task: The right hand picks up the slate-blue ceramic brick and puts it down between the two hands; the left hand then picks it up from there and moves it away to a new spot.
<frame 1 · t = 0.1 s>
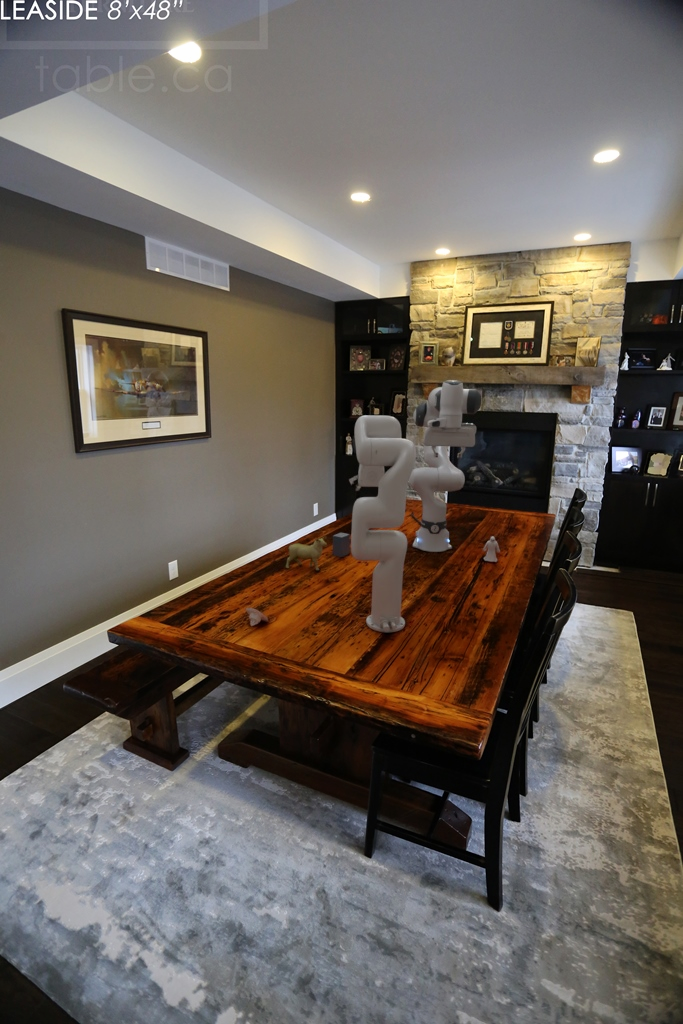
left hand: (370, 500, 199), 31 cm above the table, tool pointing down, fingers open, 9 cm apart
right hand: (447, 457, 200), 48 cm above the table, tool pointing down, fingers open, 8 cm apart
seashell: (256, 623, 161), on the table
brick: (340, 554, 229), on the table
figurine: (490, 560, 225), on the table
toy: (307, 569, 210), on the table
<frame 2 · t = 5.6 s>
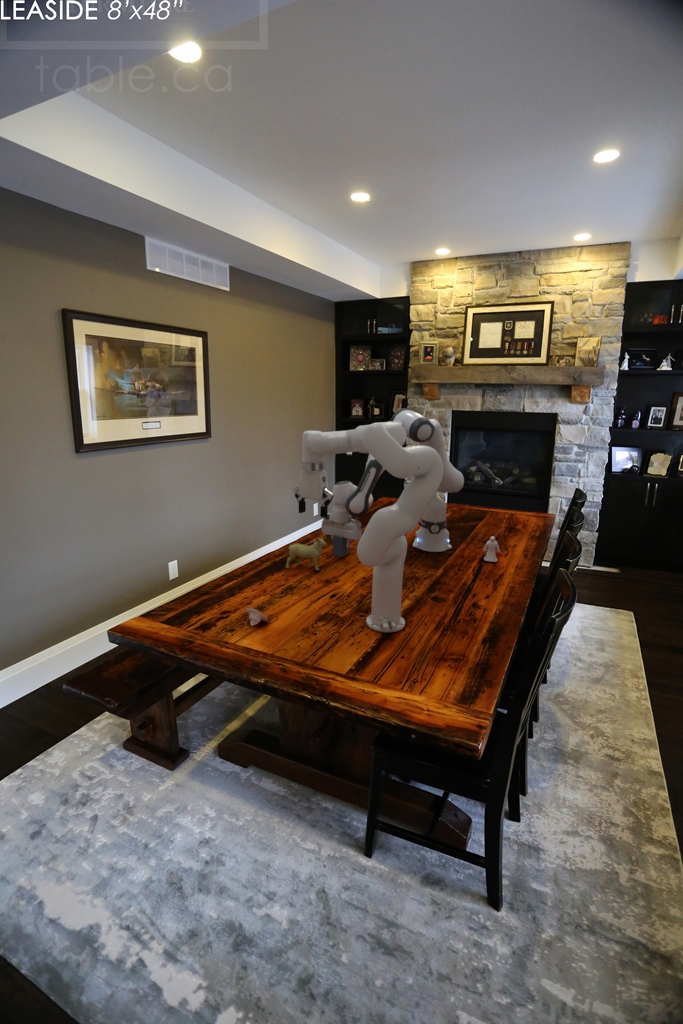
left hand: (312, 514, 177), 30 cm above the table, tool pointing down, fingers open, 9 cm apart
right hand: (341, 546, 228), 4 cm above the table, tool pointing down, fingers closed on brick, 5 cm apart
brick: (341, 554, 229), on the table, touching right hand
everything else where it was.
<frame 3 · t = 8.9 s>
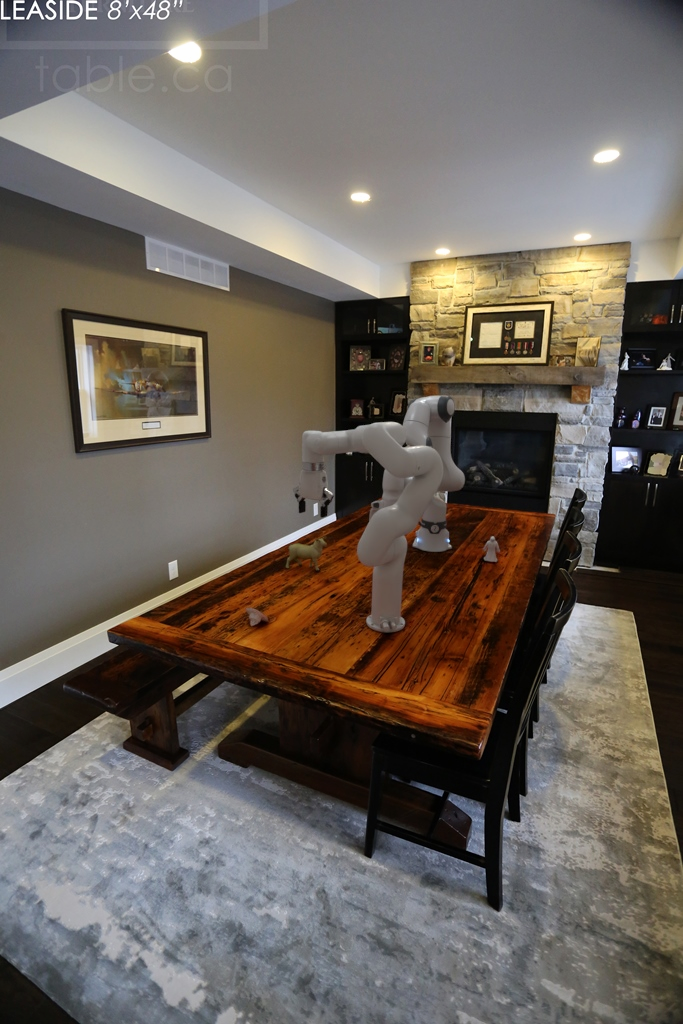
left hand: (312, 514, 177), 30 cm above the table, tool pointing down, fingers open, 9 cm apart
right hand: (391, 536, 210), 14 cm above the table, tool pointing down, fingers closed on brick, 5 cm apart
brick: (390, 546, 211), point 10 cm above the table, touching right hand
everything else where it was.
when the right hand's fingers open (5 cm above the table, at t = 12.6 s): brick drops 1 cm, on the table.
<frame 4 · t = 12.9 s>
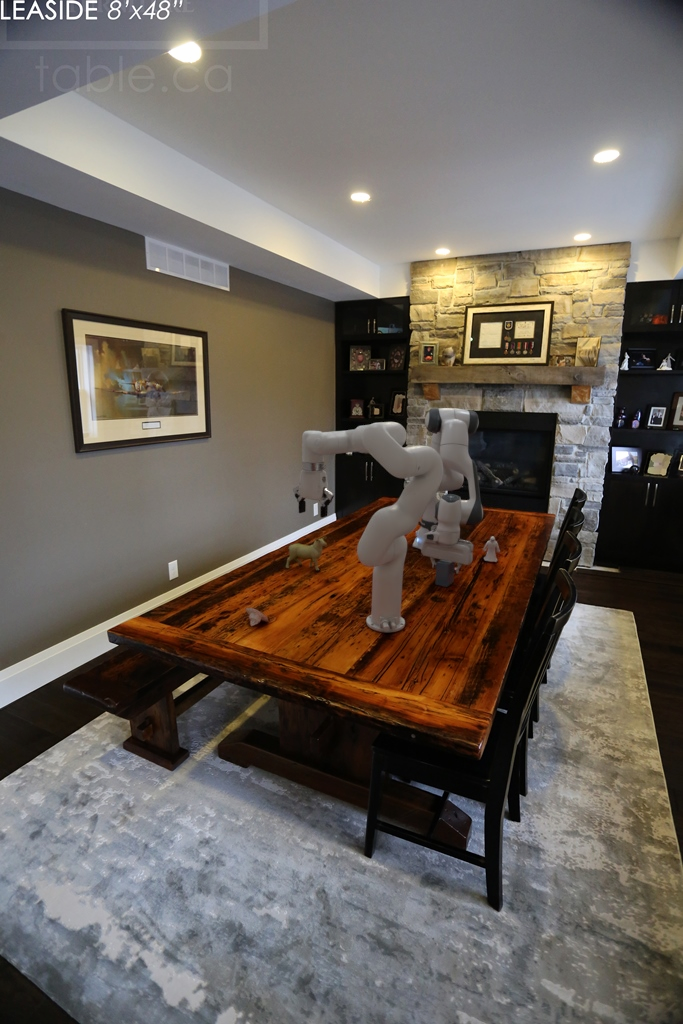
left hand: (312, 514, 177), 30 cm above the table, tool pointing down, fingers open, 9 cm apart
right hand: (445, 570, 196), 5 cm above the table, tool pointing down, fingers open, 8 cm apart
brick: (444, 583, 198), on the table
everything else where it was.
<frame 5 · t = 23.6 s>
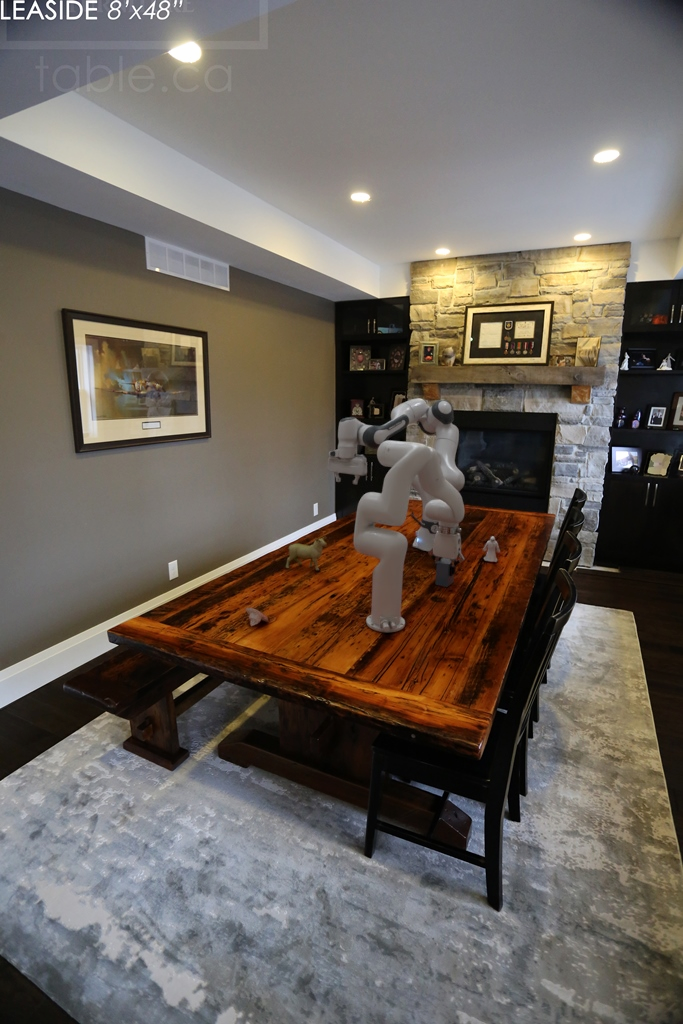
left hand: (444, 573, 197), 4 cm above the table, tool pointing down, fingers closed on brick, 5 cm apart
right hand: (346, 482, 233), 31 cm above the table, tool pointing down, fingers open, 8 cm apart
brick: (444, 583, 198), on the table, touching left hand
everything else where it was.
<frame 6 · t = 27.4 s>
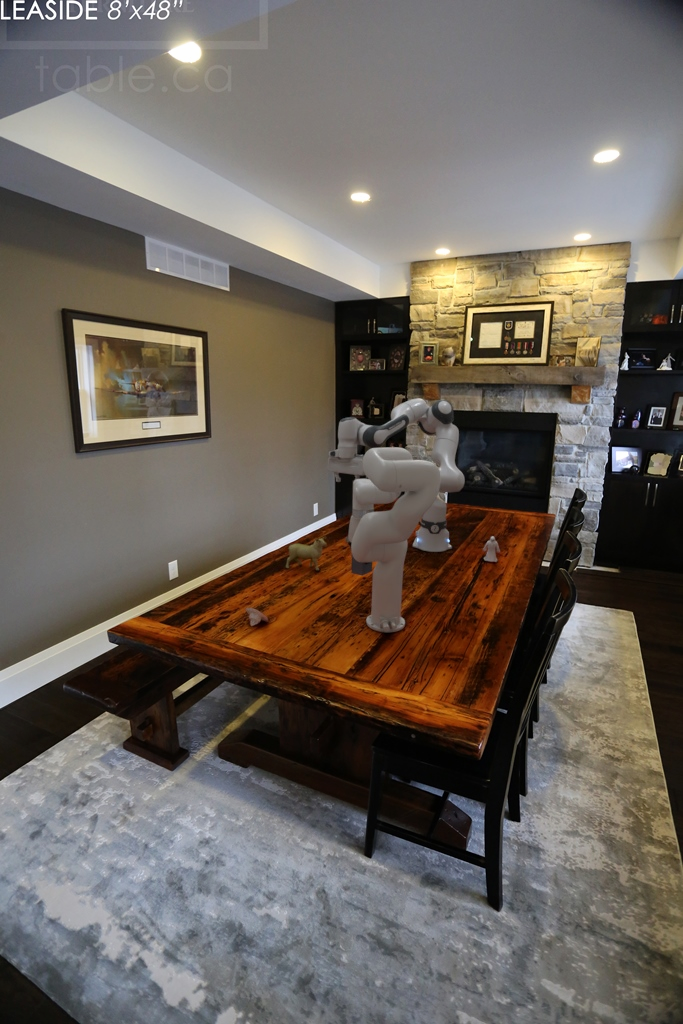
left hand: (361, 561, 183), 13 cm above the table, tool pointing down, fingers closed on brick, 5 cm apart
right hand: (346, 482, 233), 31 cm above the table, tool pointing down, fingers open, 8 cm apart
brick: (361, 572, 184), point 9 cm above the table, touching left hand
everything else where it was.
when the left hand's fingers open (5 cm above the table, at t = 31.0 s): brick drops 1 cm, on the table.
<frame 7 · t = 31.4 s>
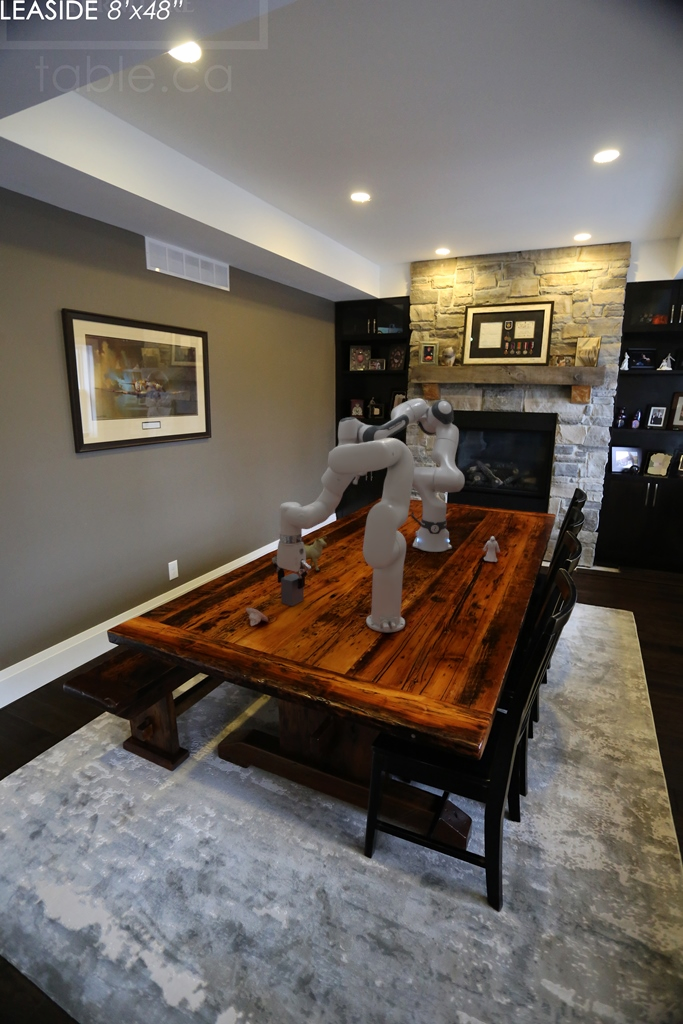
left hand: (291, 584, 177), 6 cm above the table, tool pointing down, fingers open, 8 cm apart
right hand: (346, 482, 233), 31 cm above the table, tool pointing down, fingers open, 8 cm apart
brick: (292, 601, 178), on the table
everything else where it was.
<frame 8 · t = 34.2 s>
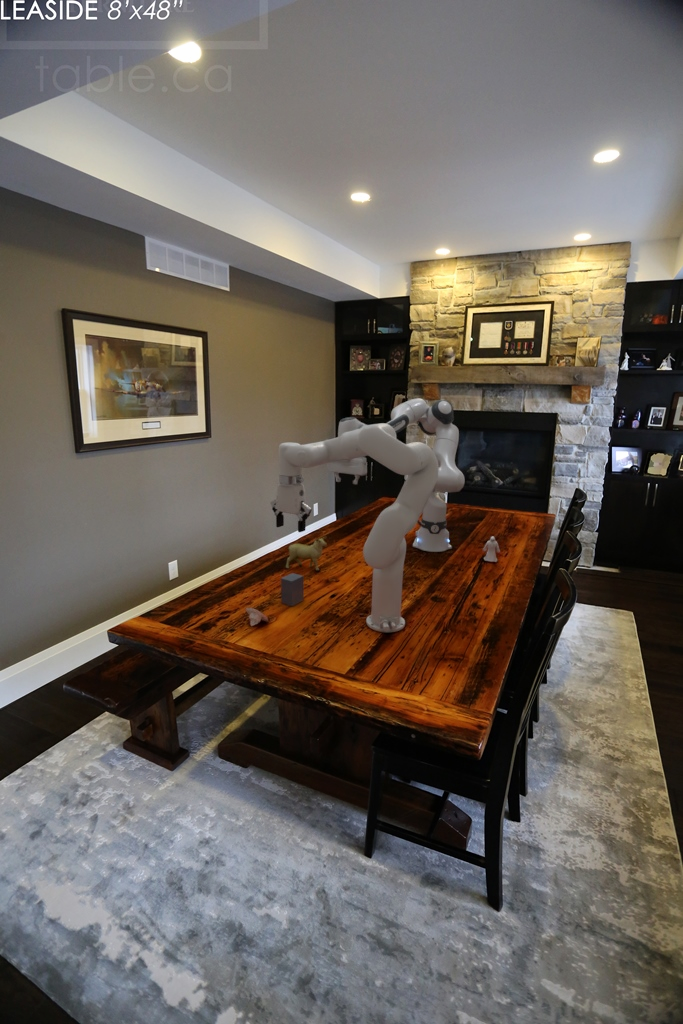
left hand: (290, 528, 172), 27 cm above the table, tool pointing down, fingers open, 9 cm apart
right hand: (346, 482, 233), 31 cm above the table, tool pointing down, fingers open, 8 cm apart
nothing on the table moved.
at the end: brick inside the target area (0.5 cm from its centre), on the table; brick tilted 0°; the two hands never held the brick at the same time; the left hand is holding nothing; the right hand is holding nothing; brick at rest at the end (0.0 cm/s) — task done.
